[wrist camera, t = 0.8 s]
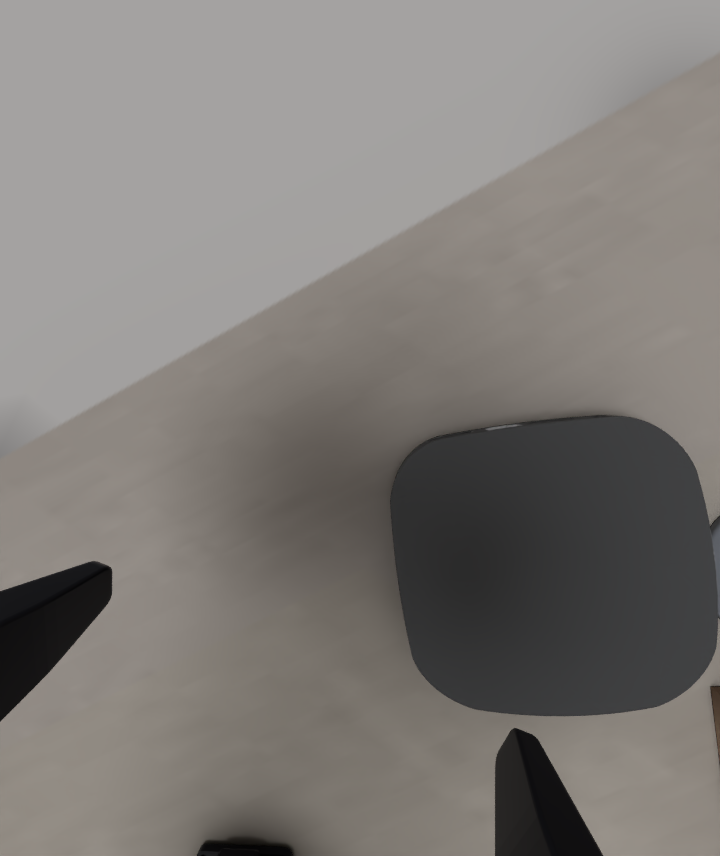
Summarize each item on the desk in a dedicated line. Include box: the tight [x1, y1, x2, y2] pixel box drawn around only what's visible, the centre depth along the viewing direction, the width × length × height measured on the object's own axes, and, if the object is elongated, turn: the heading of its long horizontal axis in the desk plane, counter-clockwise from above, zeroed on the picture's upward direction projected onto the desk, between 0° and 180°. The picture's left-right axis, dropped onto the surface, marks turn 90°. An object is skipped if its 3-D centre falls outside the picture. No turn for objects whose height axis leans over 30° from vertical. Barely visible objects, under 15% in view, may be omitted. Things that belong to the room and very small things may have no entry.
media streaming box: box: [390, 415, 718, 716], centre depth 19 cm, size 15×15×3 cm
